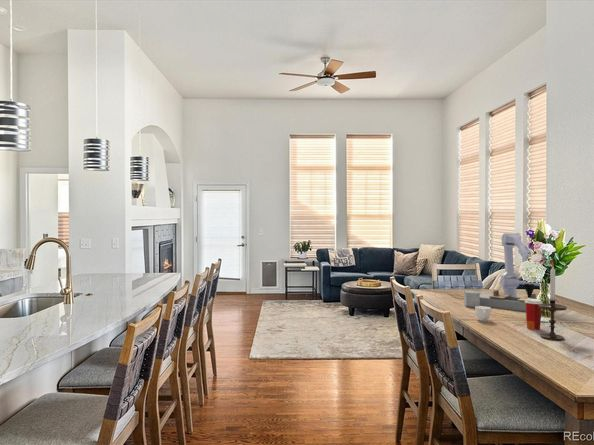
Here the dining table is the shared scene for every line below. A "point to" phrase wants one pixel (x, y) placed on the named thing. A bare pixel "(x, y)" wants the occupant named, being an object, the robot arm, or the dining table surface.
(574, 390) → the dining table surface
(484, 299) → the lid box
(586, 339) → the dining table surface
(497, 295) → the wooden sliding lid
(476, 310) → the cup
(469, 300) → the medicine box
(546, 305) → the candlestick
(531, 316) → the paper cup
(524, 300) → the ash panel
